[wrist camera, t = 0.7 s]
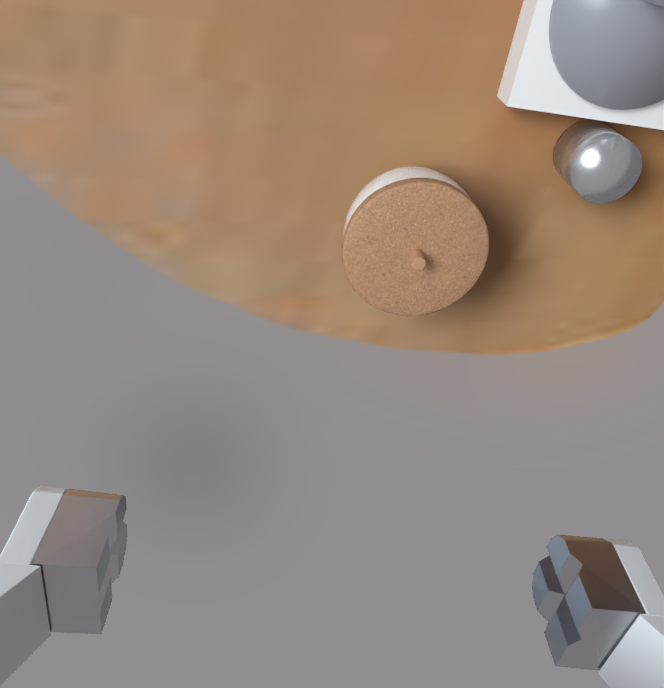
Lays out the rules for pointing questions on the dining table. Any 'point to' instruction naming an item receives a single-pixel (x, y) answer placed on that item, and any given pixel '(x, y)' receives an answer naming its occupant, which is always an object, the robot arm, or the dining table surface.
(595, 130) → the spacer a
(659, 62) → the kitchen scale
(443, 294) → the lidded jar
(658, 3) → the silver ball
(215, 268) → the dining table surface
